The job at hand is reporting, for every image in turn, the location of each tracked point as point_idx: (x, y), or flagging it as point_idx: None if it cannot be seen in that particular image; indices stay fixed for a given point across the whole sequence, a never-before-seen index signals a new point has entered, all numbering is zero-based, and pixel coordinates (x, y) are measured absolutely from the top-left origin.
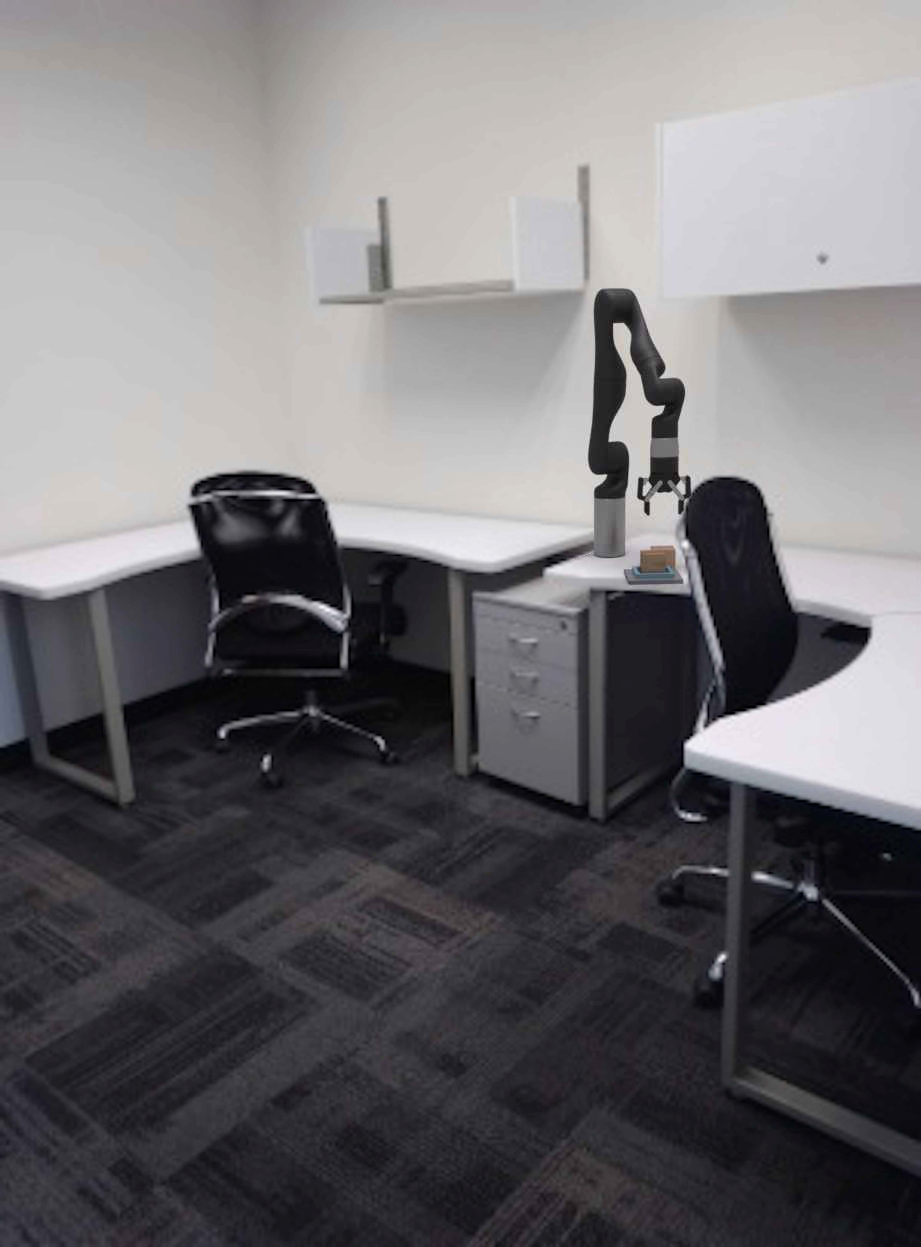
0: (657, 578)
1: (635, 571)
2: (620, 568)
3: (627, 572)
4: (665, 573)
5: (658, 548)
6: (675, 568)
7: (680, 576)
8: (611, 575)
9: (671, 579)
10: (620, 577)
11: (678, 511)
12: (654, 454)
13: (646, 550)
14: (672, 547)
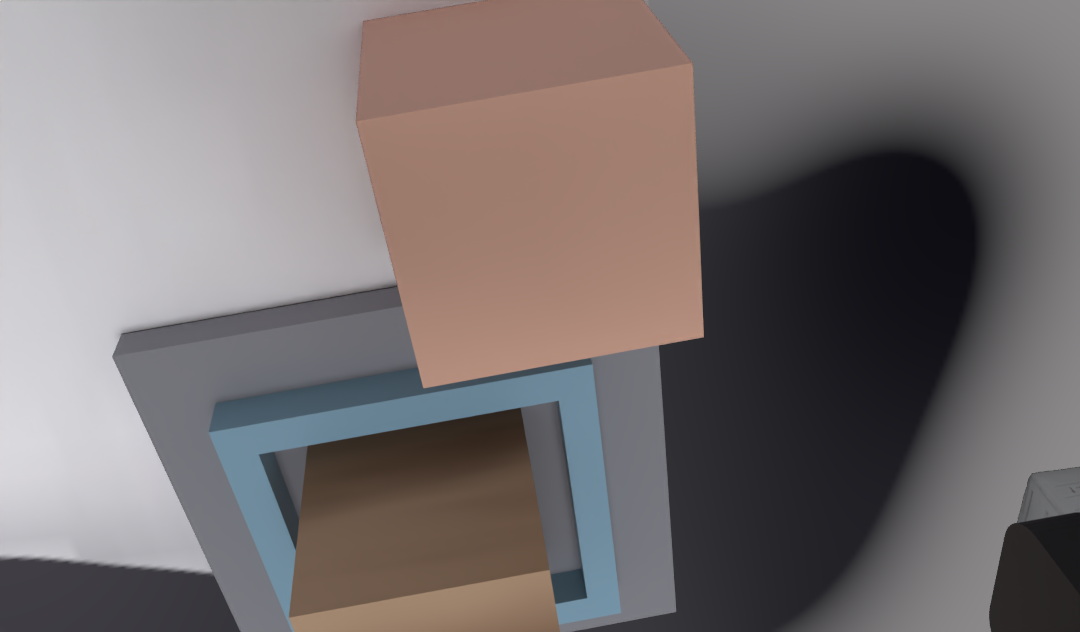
0: None
1: (288, 598)
2: (13, 137)
3: (189, 473)
4: None
5: (484, 282)
6: None
7: (664, 541)
8: (31, 440)
9: (589, 619)
10: (143, 494)
11: (1030, 619)
12: None
13: (364, 626)
14: (678, 206)
